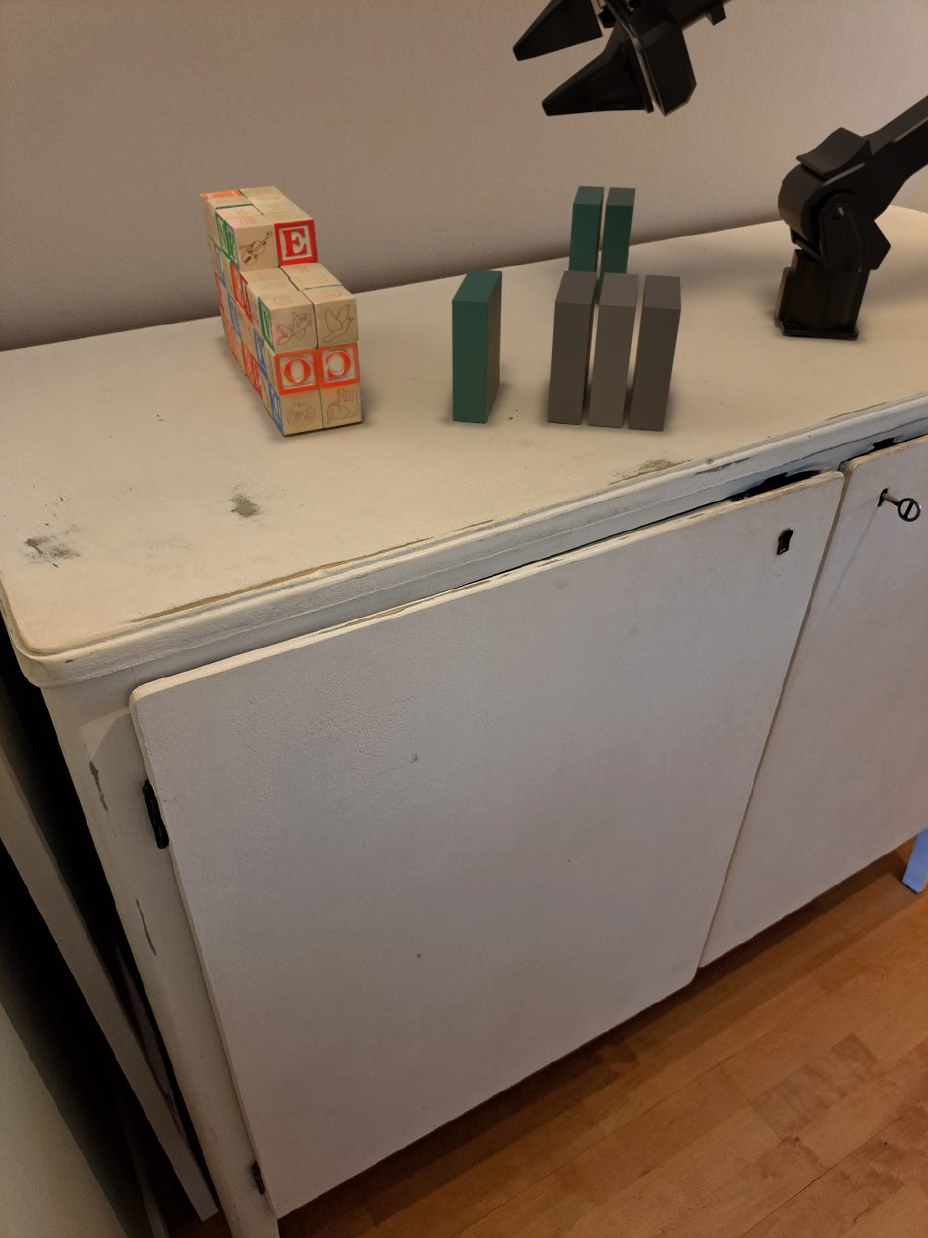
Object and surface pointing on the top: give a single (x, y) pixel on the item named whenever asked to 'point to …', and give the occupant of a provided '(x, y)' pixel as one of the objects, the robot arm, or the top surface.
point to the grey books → (613, 349)
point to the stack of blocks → (283, 309)
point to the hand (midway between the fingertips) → (528, 80)
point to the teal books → (589, 230)
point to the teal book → (476, 344)
